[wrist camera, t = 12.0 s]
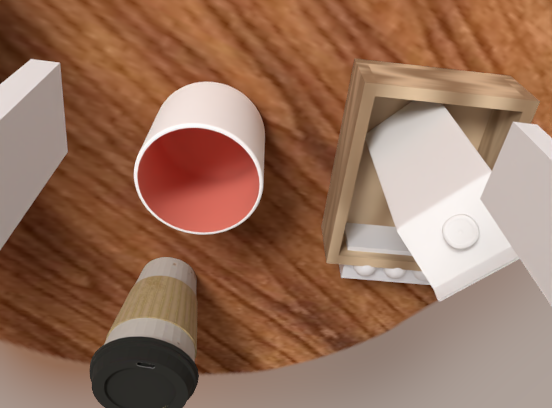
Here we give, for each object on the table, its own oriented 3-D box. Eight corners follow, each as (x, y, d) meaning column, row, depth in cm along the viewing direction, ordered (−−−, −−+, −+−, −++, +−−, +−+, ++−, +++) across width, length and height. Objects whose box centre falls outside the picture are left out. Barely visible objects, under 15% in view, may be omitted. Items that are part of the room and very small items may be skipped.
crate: (321, 226, 54) (326, 263, 49) (354, 58, 44) (365, 82, 39) (450, 238, 55) (468, 275, 50) (510, 75, 45) (540, 101, 40)
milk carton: (469, 143, 48) (567, 279, 32) (404, 185, 50) (465, 331, 34) (430, 86, 45) (517, 205, 29) (362, 134, 47) (408, 268, 31)
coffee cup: (120, 300, 60) (80, 415, 47) (130, 235, 55) (87, 344, 42) (203, 316, 61) (185, 432, 49) (220, 254, 56) (205, 365, 44)
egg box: (336, 252, 55) (342, 285, 50) (343, 222, 53) (350, 253, 48) (428, 260, 55) (441, 293, 51) (438, 230, 53) (453, 262, 49)
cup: (223, 55, 44) (211, 98, 36) (285, 143, 49) (287, 199, 40) (135, 113, 47) (105, 166, 39) (201, 191, 52) (187, 253, 43)
